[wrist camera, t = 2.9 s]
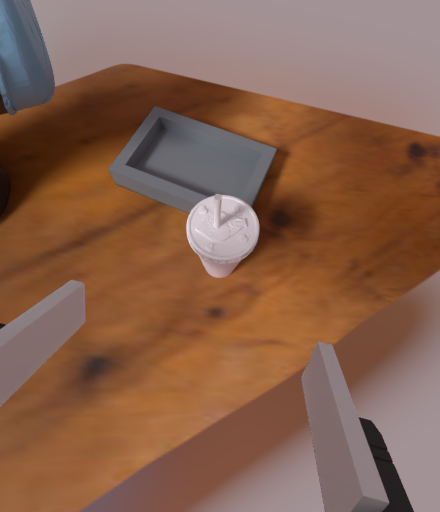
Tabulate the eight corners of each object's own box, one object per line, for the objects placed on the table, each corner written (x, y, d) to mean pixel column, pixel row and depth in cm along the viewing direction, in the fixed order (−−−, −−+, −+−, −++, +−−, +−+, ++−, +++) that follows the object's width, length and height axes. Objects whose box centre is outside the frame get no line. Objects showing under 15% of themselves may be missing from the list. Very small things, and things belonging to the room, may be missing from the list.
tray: (116, 184, 35) (107, 169, 32) (159, 123, 39) (154, 105, 36) (240, 234, 32) (243, 222, 30) (271, 164, 37) (276, 148, 34)
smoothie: (189, 242, 32) (174, 164, 19) (240, 235, 32) (260, 154, 19) (197, 293, 30) (185, 244, 17) (251, 284, 30) (281, 230, 17)
